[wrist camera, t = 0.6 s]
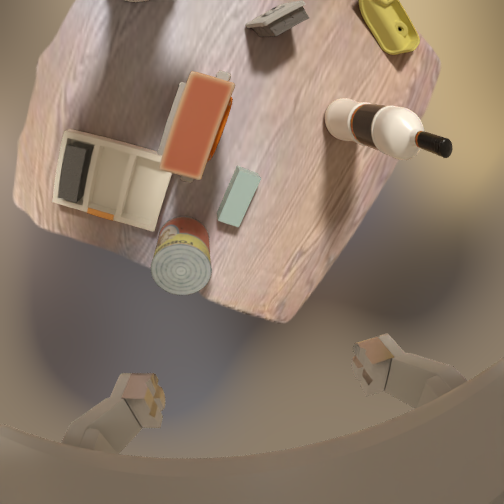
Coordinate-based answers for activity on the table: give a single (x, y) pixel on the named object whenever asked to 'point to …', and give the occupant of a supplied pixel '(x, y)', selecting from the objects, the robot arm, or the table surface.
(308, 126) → the table surface
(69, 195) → the dark grey long block
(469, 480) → the robot arm
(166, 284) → the canned food
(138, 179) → the cream compartment tray
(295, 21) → the electrical switch
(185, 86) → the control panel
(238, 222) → the panel
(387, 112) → the vodka
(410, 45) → the plastic component
